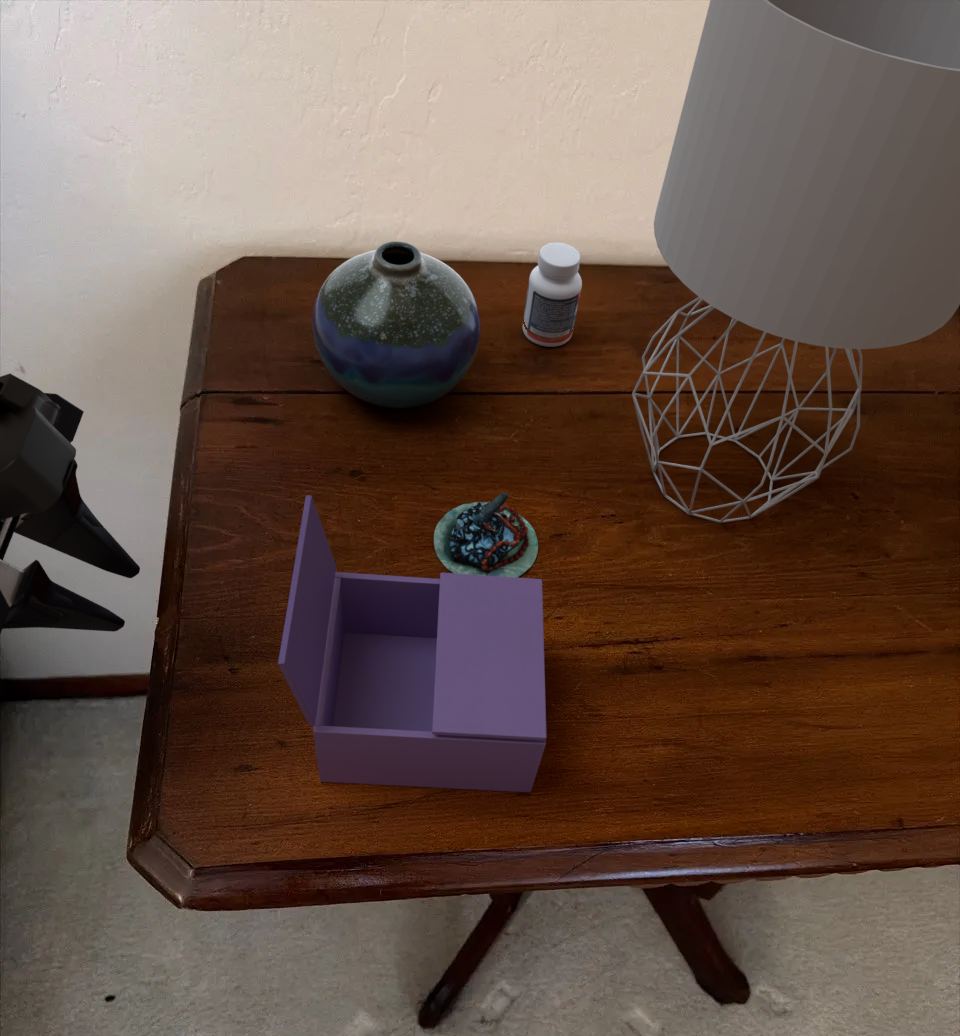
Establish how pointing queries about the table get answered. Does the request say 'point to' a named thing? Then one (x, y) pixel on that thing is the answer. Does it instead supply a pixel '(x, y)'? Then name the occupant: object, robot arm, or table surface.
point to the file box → (433, 682)
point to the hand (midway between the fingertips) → (128, 599)
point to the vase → (396, 326)
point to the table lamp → (813, 193)
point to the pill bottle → (553, 295)
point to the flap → (308, 613)
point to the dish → (486, 540)
